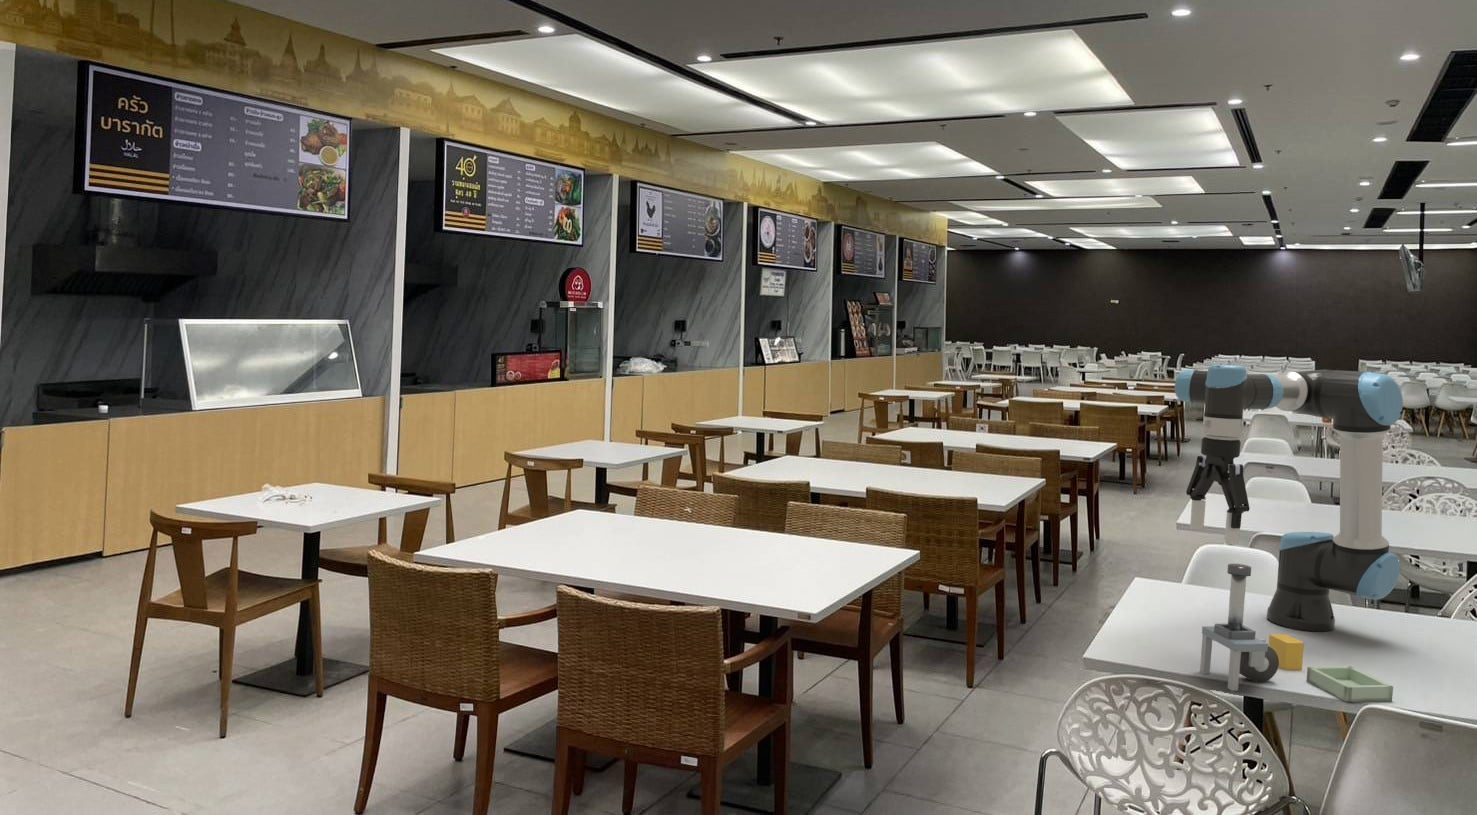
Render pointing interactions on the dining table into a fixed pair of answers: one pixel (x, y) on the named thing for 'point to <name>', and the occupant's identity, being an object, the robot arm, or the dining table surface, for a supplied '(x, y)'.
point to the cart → (1240, 654)
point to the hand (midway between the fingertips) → (1213, 536)
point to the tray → (1349, 684)
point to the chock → (1287, 651)
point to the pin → (1237, 595)
